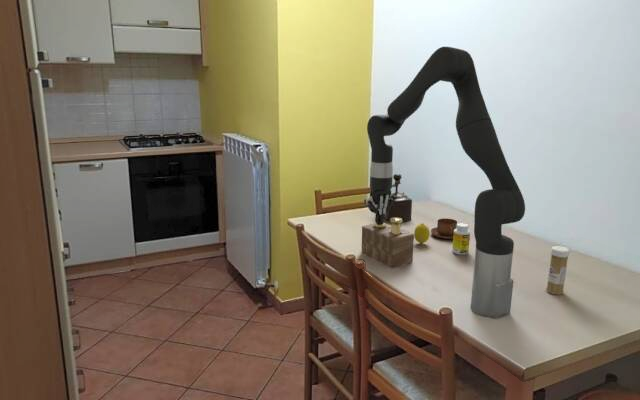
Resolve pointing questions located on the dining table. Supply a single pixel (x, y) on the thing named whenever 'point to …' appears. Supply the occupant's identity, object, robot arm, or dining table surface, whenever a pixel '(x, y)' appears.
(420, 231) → the lemon
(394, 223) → the near peg
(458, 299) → the dining table surface
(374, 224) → the far peg
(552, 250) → the sprinkles bottle
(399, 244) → the brown wooden block
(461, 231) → the supplement bottle
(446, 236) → the cup and saucer
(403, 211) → the manual coffee grinder
